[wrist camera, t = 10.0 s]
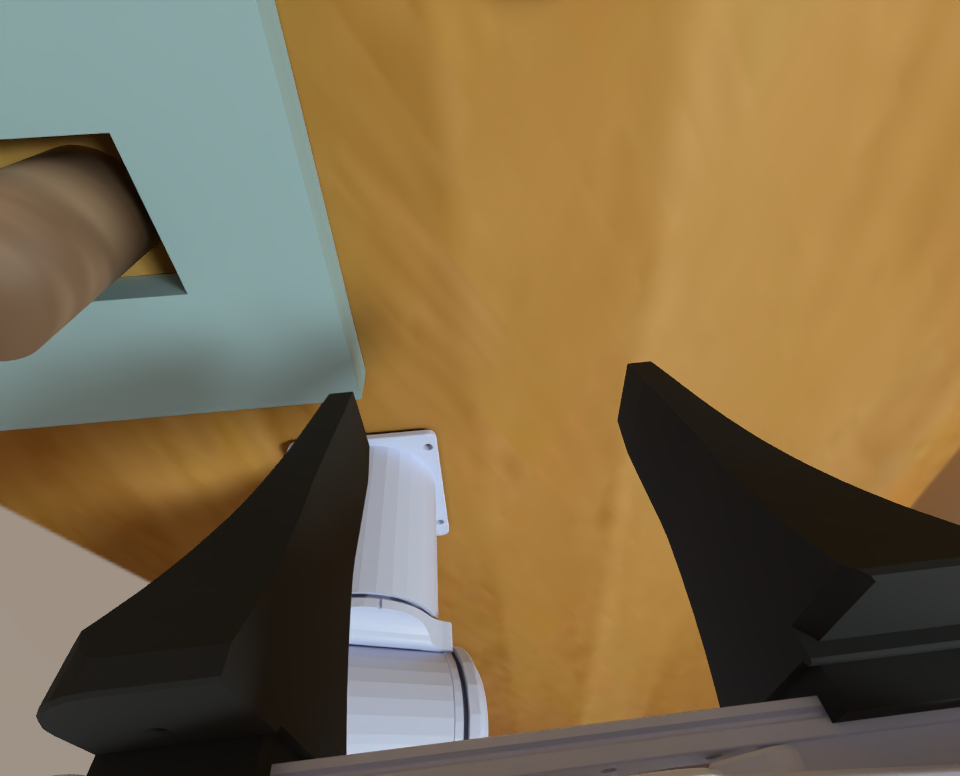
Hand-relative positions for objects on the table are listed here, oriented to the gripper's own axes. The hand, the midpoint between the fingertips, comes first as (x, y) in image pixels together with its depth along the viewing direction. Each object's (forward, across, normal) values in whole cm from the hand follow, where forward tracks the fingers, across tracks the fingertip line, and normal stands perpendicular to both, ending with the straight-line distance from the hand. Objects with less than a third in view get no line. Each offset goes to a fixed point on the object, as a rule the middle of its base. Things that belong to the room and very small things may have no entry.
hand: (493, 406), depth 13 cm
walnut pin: (+9, +13, -3) cm, 17 cm away
